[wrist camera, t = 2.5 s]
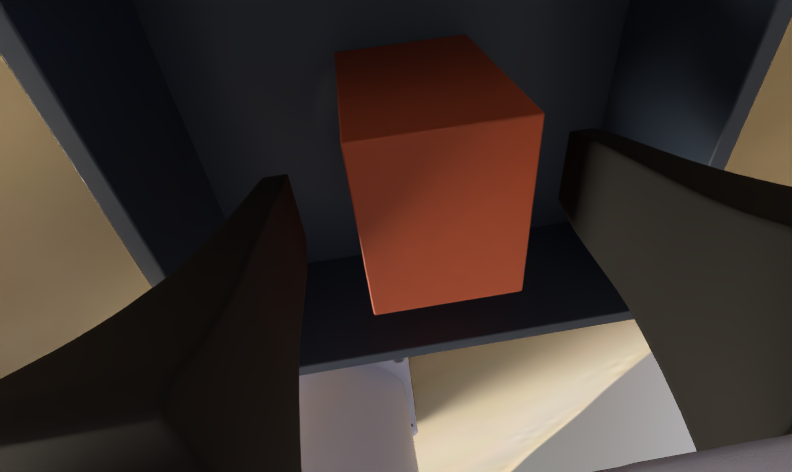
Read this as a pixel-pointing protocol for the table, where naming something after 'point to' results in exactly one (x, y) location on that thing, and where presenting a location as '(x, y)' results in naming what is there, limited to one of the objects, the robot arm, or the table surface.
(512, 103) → the small box
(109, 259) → the table surface
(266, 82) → the storage box
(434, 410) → the table surface
